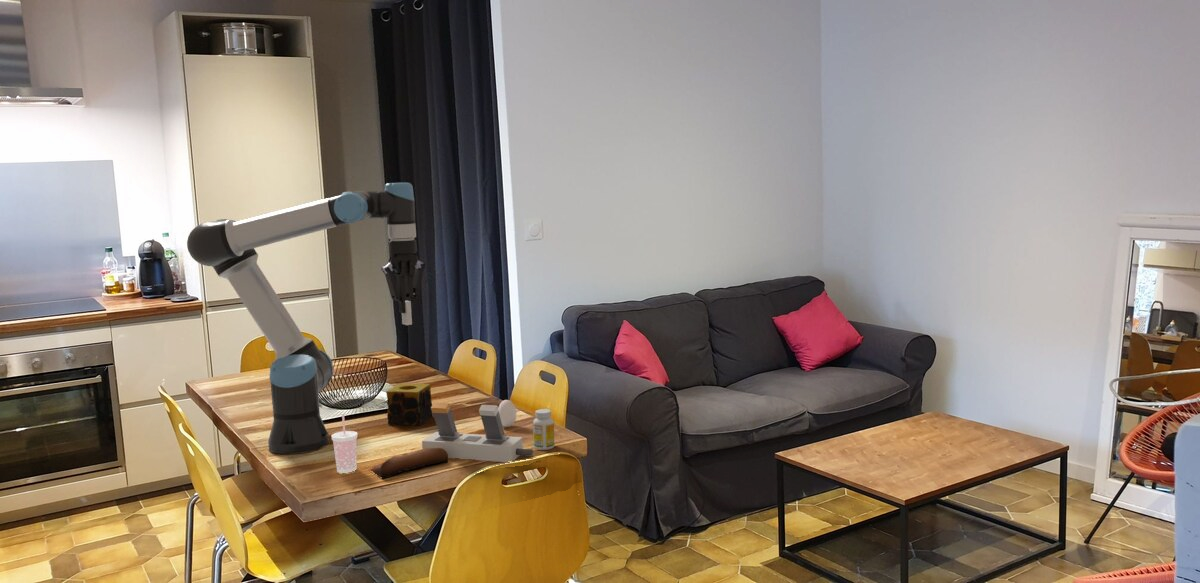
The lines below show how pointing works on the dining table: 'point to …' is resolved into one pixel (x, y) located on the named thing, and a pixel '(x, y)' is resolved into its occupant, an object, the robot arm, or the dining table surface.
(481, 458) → the power strip
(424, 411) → the candle
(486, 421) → the switch white
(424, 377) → the dining table surface
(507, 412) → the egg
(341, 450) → the beverage cup
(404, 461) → the sunglasses case
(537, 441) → the supplement bottle
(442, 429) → the switch orange
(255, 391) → the dining table surface
